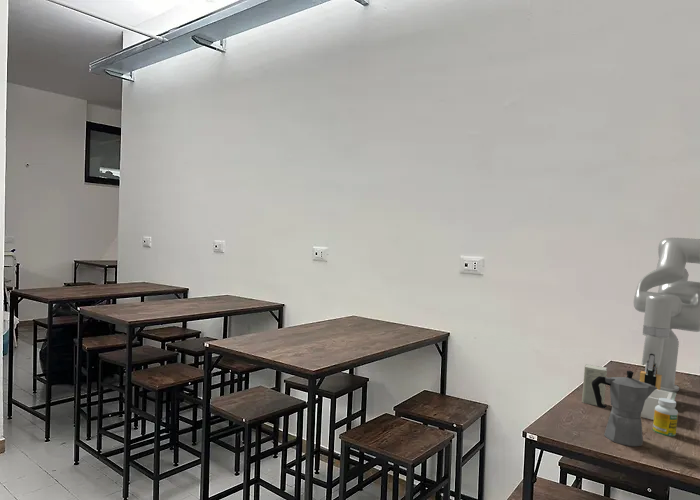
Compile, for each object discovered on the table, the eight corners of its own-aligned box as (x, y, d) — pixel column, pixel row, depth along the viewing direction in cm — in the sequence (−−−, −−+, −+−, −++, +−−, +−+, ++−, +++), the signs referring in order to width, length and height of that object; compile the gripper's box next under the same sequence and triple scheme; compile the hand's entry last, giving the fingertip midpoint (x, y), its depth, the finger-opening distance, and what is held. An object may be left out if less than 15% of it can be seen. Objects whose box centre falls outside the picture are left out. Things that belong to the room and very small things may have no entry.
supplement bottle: (658, 429, 139) (661, 395, 139) (679, 437, 135) (683, 402, 134) (648, 432, 136) (652, 398, 136) (669, 440, 132) (673, 404, 131)
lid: (624, 386, 174) (626, 367, 173) (675, 397, 165) (678, 378, 164) (618, 394, 163) (620, 374, 163) (672, 407, 154) (675, 386, 154)
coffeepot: (644, 436, 133) (651, 369, 132) (658, 451, 124) (665, 379, 123) (582, 427, 136) (589, 362, 136) (591, 440, 127) (598, 371, 126)
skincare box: (604, 406, 156) (608, 367, 156) (603, 409, 152) (607, 370, 152) (582, 401, 159) (586, 363, 159) (580, 404, 155) (584, 366, 155)
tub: (618, 402, 160) (620, 381, 160) (670, 415, 152) (672, 392, 152) (612, 412, 151) (614, 389, 151) (666, 425, 142) (669, 401, 142)
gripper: (645, 327, 175) (640, 378, 176) (639, 332, 162) (634, 388, 163) (671, 331, 171) (665, 384, 172) (667, 337, 158) (660, 394, 159)
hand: (650, 385), depth 167 cm, fingers closed on lid, 3 cm apart
